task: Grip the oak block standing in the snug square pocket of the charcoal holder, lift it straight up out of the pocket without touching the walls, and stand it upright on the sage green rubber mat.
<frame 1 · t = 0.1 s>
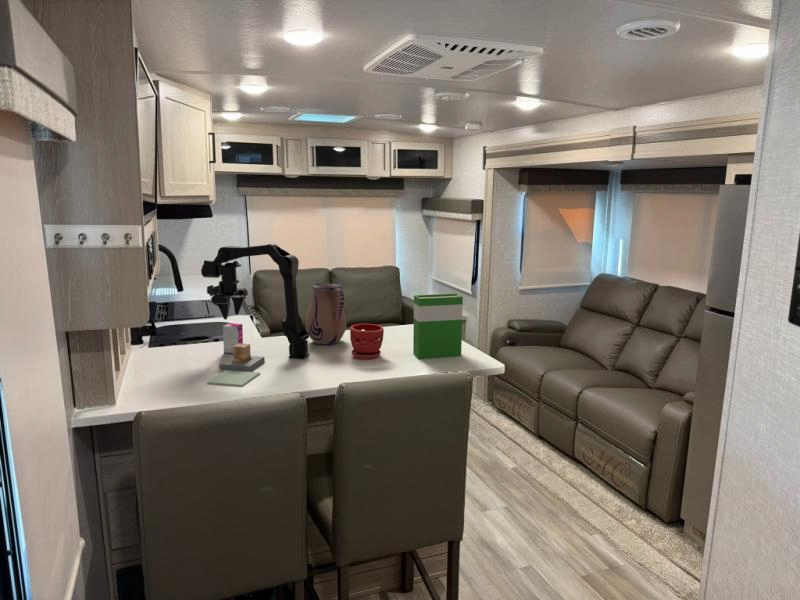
hand: (231, 316, 217), 15 cm above the counter, tool pointing down, fingers open, 9 cm apart
charcoal holder: (242, 365, 202), on the counter
oak block: (242, 366, 202), resting in charcoal holder
rubber mat: (234, 378, 188), on the counter
plant pot: (367, 356, 215), on the counter
hardback book: (437, 355, 217), on the counter
ceramic pitcher: (329, 343, 235), on the counter
supplement box: (233, 352, 220), on the counter
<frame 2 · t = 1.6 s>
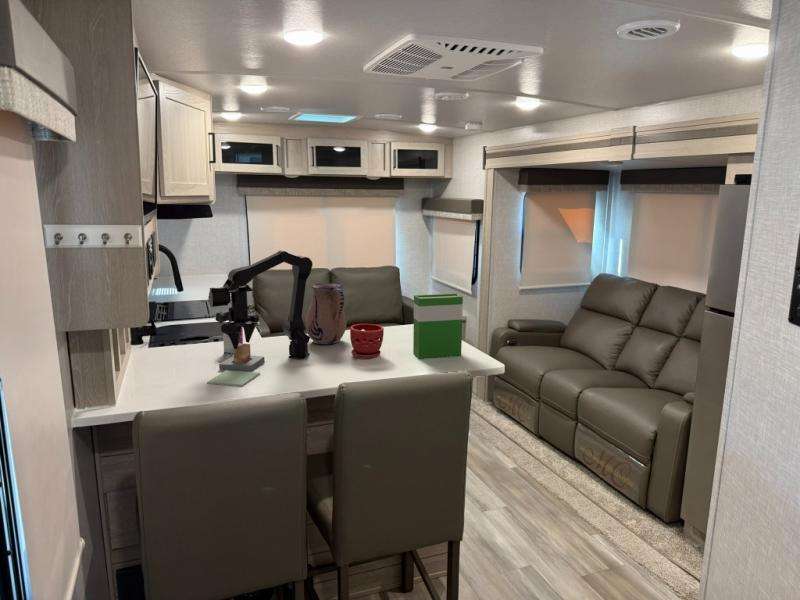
hand: (241, 345, 201), 8 cm above the counter, tool pointing down, fingers open, 9 cm apart
nothing on the counter moved.
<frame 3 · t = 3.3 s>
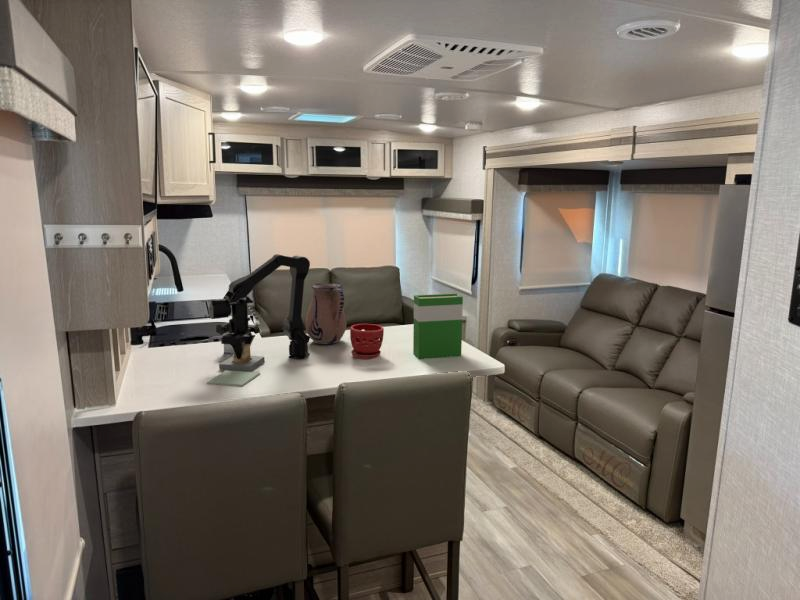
hand: (242, 356, 202), 4 cm above the counter, tool pointing down, fingers closed on oak block, 4 cm apart
oak block: (242, 366, 202), resting in charcoal holder, touching gripper
everything else where it was.
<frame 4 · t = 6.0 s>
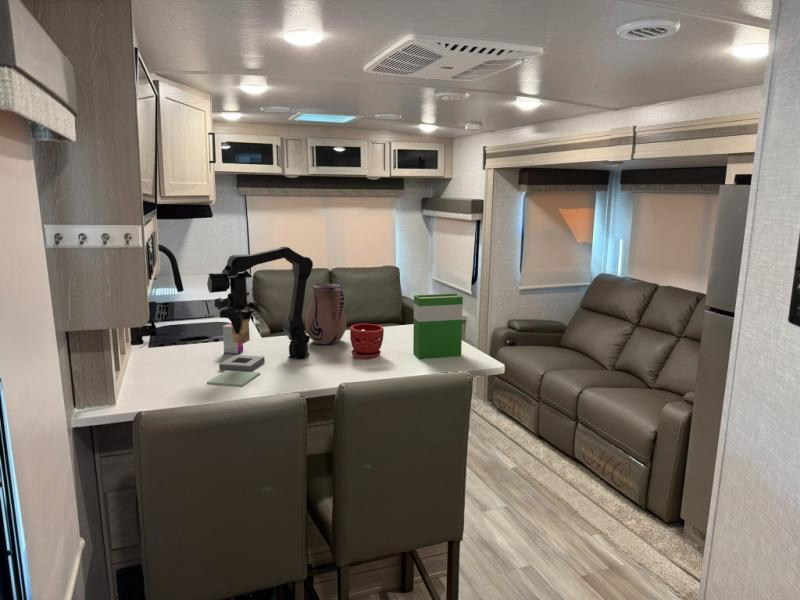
hand: (240, 332, 200), 13 cm above the counter, tool pointing down, fingers closed on oak block, 4 cm apart
oak block: (241, 341, 200), point 9 cm above the counter, touching gripper
everything else where it was.
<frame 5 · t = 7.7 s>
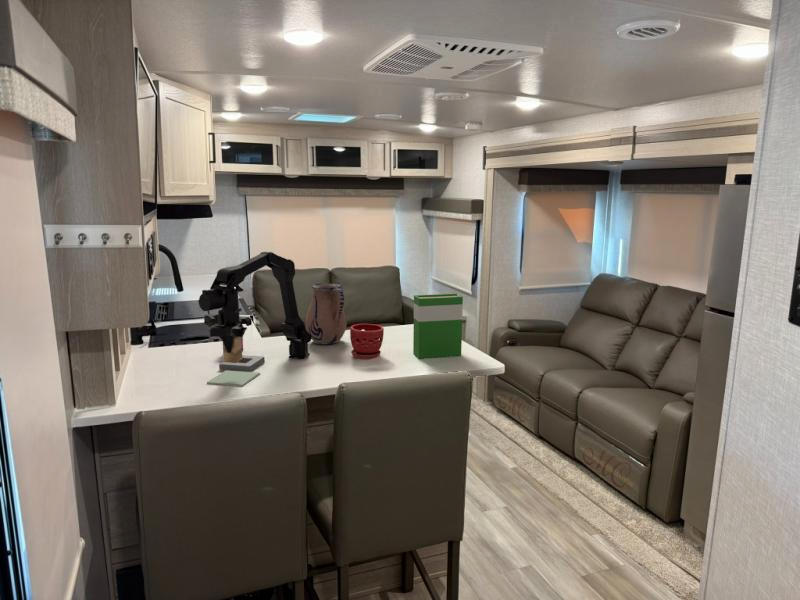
hand: (232, 350, 186), 10 cm above the counter, tool pointing down, fingers closed on oak block, 4 cm apart
oak block: (233, 360, 187), point 7 cm above the counter, touching gripper
everything else where it was.
when the fingers open (6 cm above the counter, at t = 9.2 s): oak block drops 1 cm, resting on rubber mat.
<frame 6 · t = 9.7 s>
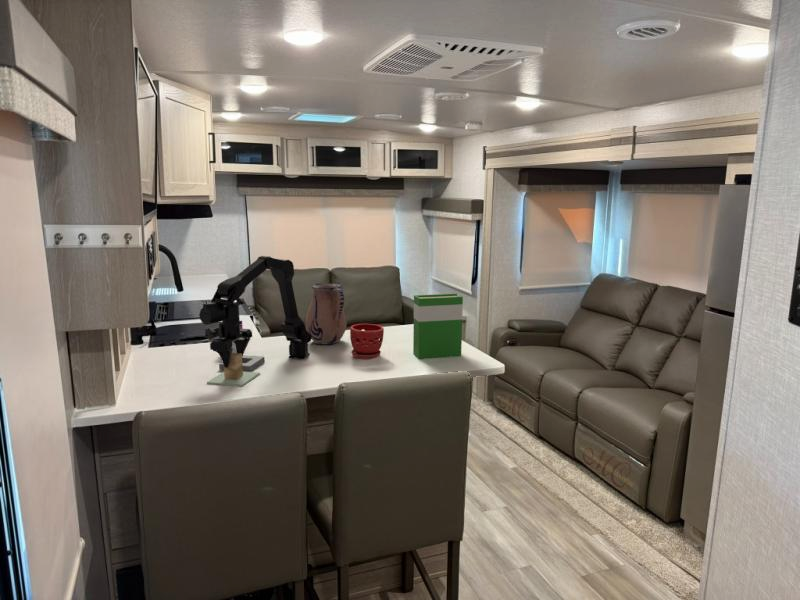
hand: (233, 363, 187), 6 cm above the counter, tool pointing down, fingers open, 9 cm apart
oak block: (233, 377, 188), point 1 cm above the counter, touching rubber mat
everything else where it was.
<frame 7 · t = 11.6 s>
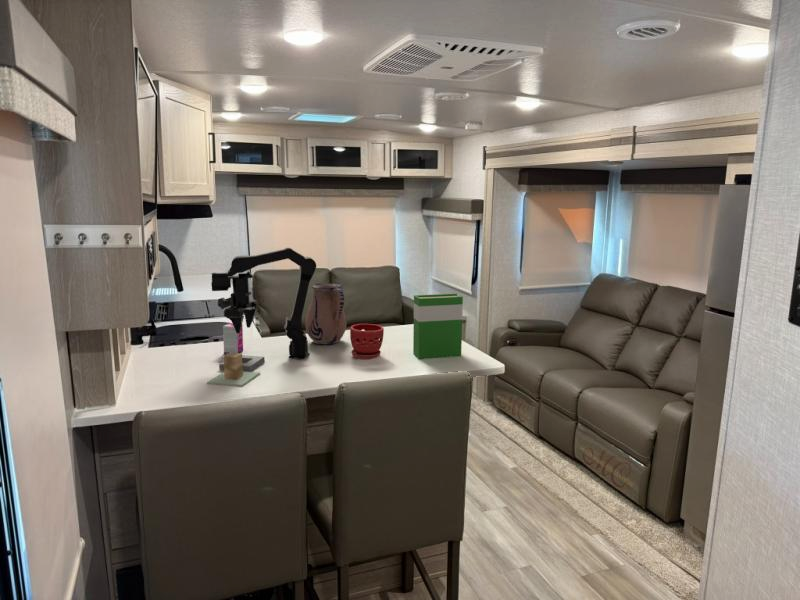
hand: (243, 330, 207), 12 cm above the counter, tool pointing down, fingers open, 9 cm apart
nothing on the counter moved.
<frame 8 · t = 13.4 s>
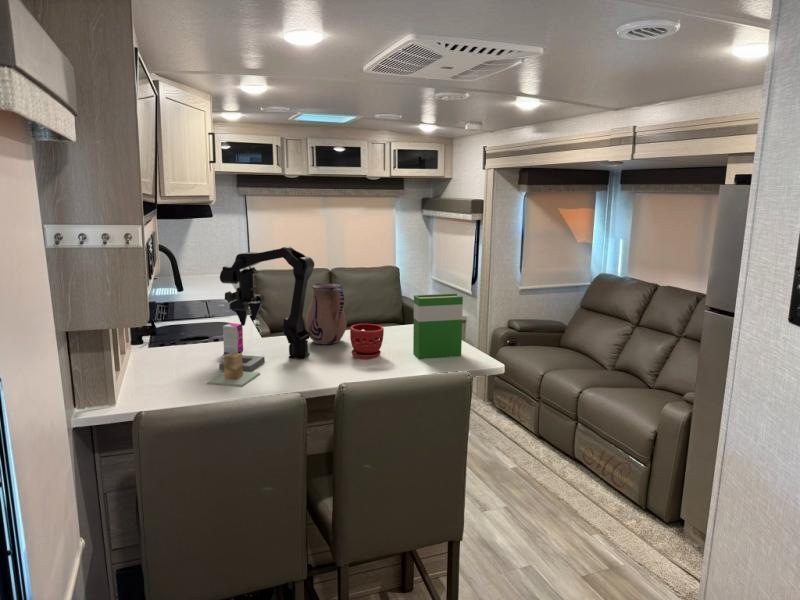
hand: (248, 322, 218), 12 cm above the counter, tool pointing down, fingers open, 9 cm apart
nothing on the counter moved.
at the end: oak block inside the target area on the rubber mat (0.0 cm from its centre), point 0.6 cm above the rubber mat's base; oak block tilted 0°; oak block touching rubber mat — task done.
